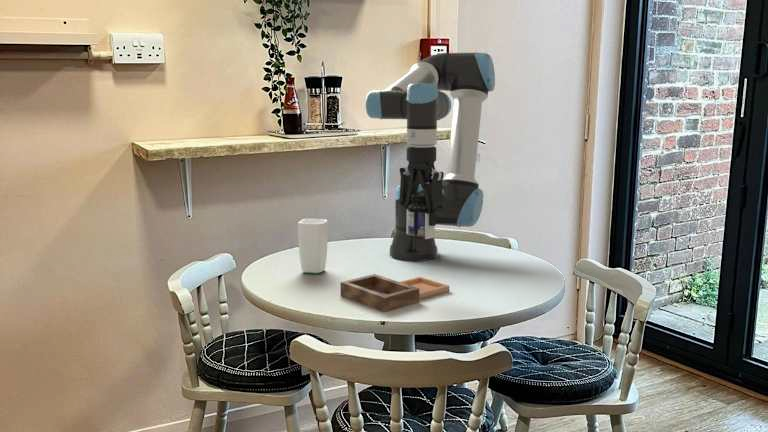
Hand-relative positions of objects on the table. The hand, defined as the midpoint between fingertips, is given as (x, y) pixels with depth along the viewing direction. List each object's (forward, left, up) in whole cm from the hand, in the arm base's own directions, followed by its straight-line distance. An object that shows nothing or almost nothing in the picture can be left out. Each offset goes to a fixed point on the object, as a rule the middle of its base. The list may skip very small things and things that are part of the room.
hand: (420, 235), depth 174 cm
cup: (-33, -10, -15) cm, 38 cm away
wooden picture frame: (-2, -12, -15) cm, 19 cm away
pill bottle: (0, 0, -1) cm, 1 cm away
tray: (0, 0, -15) cm, 15 cm away
